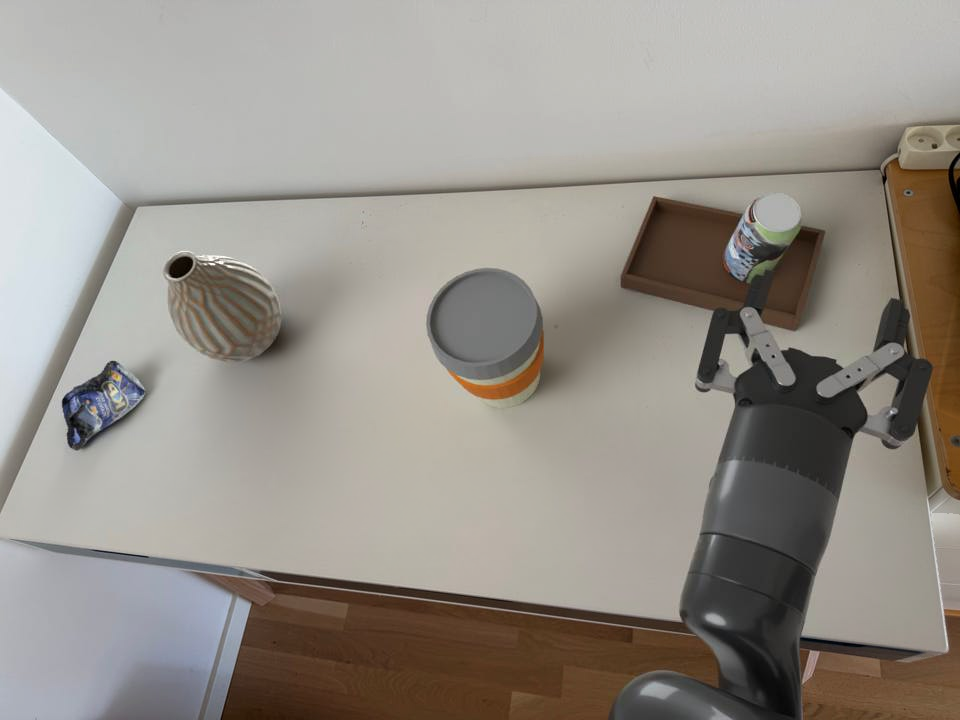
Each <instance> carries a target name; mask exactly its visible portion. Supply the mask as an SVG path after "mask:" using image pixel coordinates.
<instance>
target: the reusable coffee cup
mask: <svg viewBox="0 0 960 720" xmlns="http://www.w3.org/2000/svg"><path fill="white" fill-rule="evenodd" d="M425 326H426V332H427V337H428V339H429V342H430V345H431V348H432V351H433V353H434V356H435V357H436V358H437V360H438V361H439V363H440V364H441V365H442V367H444V368H445V369H446V371H447V372H448V374H449V375H450V376H451V377H452V378H453V379H454V380H455V381H456V382H457V383H458V384H459V385H460V386H461V387H462V388H463V389H464V390H466V391H467V392H468V393H470V394H471V395H473V396H475V397H477V398H478V399H479V400H480V401H481V402H482V403H484V404H486V405H488V406H490V407H492V408H498V409H506V408H507V409H508V408H512V407H516V406H518V405H521V404H522V403H524V402H525V401H527V400H528V399H530V397H531V396H533V394H534V392H535V391H536V390H537V389H538V386H539V384H540V379H541V370H542V367H543V365H544V358H545V333H544V332H545V331H544V318H543V314H542V310H541V307H540V304H539V303H538V301H537V299H536V296H535V294H534V293H533V291H532V288H531V287H530V286H529V284H527V282H526V281H525V280H524V279H522V278H521V277H519V276H518V275H517V274H515V273H512V272H510V271H508V270H505V269H500V268H493V267H483V268H476V269H472V270H469V271H468V270H467V271H465V272H462V273H460V274H458V275H456V276H454V277H453V278H451V279H450V280H448V281H447V282H446V283H445V284H444V285H442V287H441V288H440V289H439V290H438V291H437V292H436V293H435V295H434V296H433V297H432V300H431V302H430V304H429V307H428V310H427V313H426V322H425Z"/></svg>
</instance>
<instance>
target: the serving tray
mask: <svg viewBox="0 0 960 720" xmlns="http://www.w3.org/2000/svg"><path fill="white" fill-rule="evenodd" d="M743 214H744V213H740V212H735V211H731V210H730V211H729V210H725V209H720V208H715V207H711V206H705V205H700V204H696V203H691V202H685V201H681V200H675V199H670V198H665V197H660V196H655V195H654V196H652V199H651V201H650V203H649V206H648V208H647V211H646V213H645V215H644V218H643V220H642V223H641V225H640V227H639V230H638V233H637V235H636V237H635V239H634V241H633V244H632V248H631V250H630V252H629V254H628V257H627V259H626V262H625V265H624V266H623V269H622V272H621V274H620V288H622V289H626V290H630V291H634V292H638V293H642V294H646V295H650V296H652V297H653V296H654V297H657V298H662V299H666V300H669V301H674V302H677V303H681V304H685V305H689V306H693V307H697V308H701V309H704V310H708V311H713V312H714V310H715V309H717V308H725V309H727V310H728V311H736V310H739V309H741V308H742V307H743V305H744V302H745V299H746V296H747V293H748V290H749V287H750V284H751V283H743V282H740V281H737V280H735V279H734V278H732V277H731V276H730V275H729V274H728V273H727V272H726V271H725V269H724V267H723V263H722V256H723V253H724V251H725V249H726V247H727V245H728V243H729V241H730V239H731V237H732V236H733V234H734V232H735V230H736V228H737V226H738V224H739V222H740V220H741V218H742V216H743ZM825 236H826V230H825V229H820V228H815V227H811V226H806V225H801V228H800V230H799V232H798V234H797V235H796V237H795V238H794V240H793V241H792V243H791V244H790V245H789V247H788V248H787V250H786V251H785V253H784V254H783V256H782V257H781V258H780V260H779V261H778V263H777V264H776V266H775V267H774V269H773V270H772V271H775V273H774V277H773V280H772V283H771V286H770V289H769V293H768V296H767V299H766V302H765V305H764V308H763V311H762V314H761V317H760V318H761V320H762V322H763V324H764V325H768V326H771V327H775V328H780V329H784V330H788V331H791V332H796V330H797V328H798V326H799V323H800V321H801V318H802V316H803V315H802V314H803V311H804V308H805V304H806V301H807V297H808V295H809V291H810V287H811V284H812V279H813V277H814V273H815V270H816V266H817V262H818V260H819V257H820V256H819V255H820V252H821V249H822V245H823V241H824V239H825Z"/></svg>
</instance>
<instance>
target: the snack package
mask: <svg viewBox="0 0 960 720" xmlns="http://www.w3.org/2000/svg"><path fill="white" fill-rule="evenodd" d="M145 395H146V389H145V386H144V385H143V384H142V383H141V382H140V380H139V379H138V378H137V377H136V376H135V375H134V374H132V373H131V372H130V371H129V370H127V368H125V367H124V366H123V365H122V364H121V363H120V362H118V361H116V360H110V361H108V362H107V363H106V364H105V365H104V368H103V369H102V371H101V372H100V373H99V374H97V375H95V376H93V377H92V378H90V379H88V380H87V381H85V382H83V383H82V384H80V385H76V386H74V387H73V388H72V389H71V390H70V391H68V392H66V394H65V395H63V398H62V399H61V408H62V413H63V417H64V420H65V424H66V426H67V432H66V440H67V445H68V447H69V448H70V449H72V450H74V451H80V450H81V449H82V448H83V446H84V445H85V444H86V443H87V442H88V441H89V440H90V439H91V438H93V436H95V435H96V434H97V433H99V432H100V431H102V430H104V429H105V428H107V427H109V426H110V425H112V424H113V423H115V422H116V421H118V420H119V419H122V418H124V416H126V414H128V413H129V412H130V411H131V410H133V409H134V408H135V407H136V406H137V405H138V404H139V403H140V402H141V400H143V398H144V396H145Z"/></svg>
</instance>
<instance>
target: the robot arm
mask: <svg viewBox="0 0 960 720" xmlns="http://www.w3.org/2000/svg"><path fill="white" fill-rule="evenodd" d="M774 273H775V271H772V270H768V269H765V273H764V276H762V275H758V274H756V275H755V276H754V277H753V278H752V281H751V284H750V287H749V290H748V293H747V296H746V299H745V302H744V305H743V307H742V308H741V309H739V310H736V311H728V310H727V309H725V308H717V309H715V310H714V311H713V312H712V315H711V319H710V323H709V327H708V330H707V333H706V337H705V342H704V345H703V349H702V353H701V357H700V360H699V364H698V368H697V373H696V378H695V382H694V388H695V389H696V390H697V391H698V392H700V393H703V394H704V393H709V392H710V391H711V390H714V391H719V392H723V393H726V394H731V395H732V397H733V400H734V408H733V412H732V415H731V418H730V421H729V425H728V427H727V431H726V435H725V436H724V440H723V443H722V447H721V450H720V453H719V456H718V460H717V463H716V465H715V470H714V472H713V475H712V476H711V478H710V480H709V484H708V492H707V494H706V498H705V501H704V506H703V513H702V521H701V526H700V530H699V536H698V539H697V542H696V545H695V548H694V551H693V555H692V558H691V561H690V564H689V568H688V571H687V574H686V577H685V579H684V583H683V585H682V586H683V587H682V590H681V593H680V594H681V595H680V598H679V602H678V603H679V604H678V614H679V619H680V620H681V622H682V623H683V625H684V626H685V627H686V628H687V630H688V631H690V632H691V633H692V634H693V635H694V636H695V637H696V638H698V639H699V640H700V641H701V642H702V643H704V645H705V646H706V647H708V649H709V650H710V651H711V653H712V654H713V656H714V658H715V661H716V669H717V683H718V684H717V685H718V686H715V685H712V684H710V683H707V682H705V681H703V680H700V679H698V678H695V677H692V676H689V675H687V674H685V673H681V672H678V671H676V670H675V671H674V670H670V669H669V670H668V669H667V670H666V669H658V670H657V669H656V670H650V671H647V672H644V673H642V674H640V675H638V676H635V677H634V678H633V679H631V680H630V681H629V682H627V684H625V685H624V686H623V688H621V690H620V691H619V692H618V694H617V695H616V696H615V698H614V700H613V702H612V704H611V707H610V709H609V712H608V717H607V720H804V715H803V713H804V712H803V679H802V678H803V677H802V666H801V664H802V663H801V637H802V634H803V629H804V626H805V623H806V618H807V614H808V611H809V607H810V601H811V599H812V593H813V589H814V585H815V582H816V581H815V580H816V576H817V573H818V570H819V567H820V565H821V562H822V560H823V557H824V555H825V552H826V550H827V548H828V545H829V542H830V539H831V535H832V531H833V526H834V523H835V518H836V514H837V509H838V506H839V501H840V497H841V493H842V488H843V485H844V479H845V475H846V472H847V467H848V463H849V458H850V455H851V450H852V446H853V442H854V438H855V436H856V434H857V433H863V434H865V435H869V436H872V437H873V438H874V437H875V438H878V439H880V441H881V444H882V446H883V447H885V448H886V449H888V450H897V449H899V448H901V446H903V444H905V443H906V442H907V441H909V439H910V438H911V437H913V435H915V432H916V429H917V426H918V423H919V418H920V415H921V411H922V408H923V404H924V401H925V397H926V394H927V390H928V387H929V383H930V380H931V377H932V373H933V369H934V366H933V363H931V361H930V360H928V359H927V358H923V357H922V358H921V357H920V358H915V357H914V356H912V355H911V354H909V353H908V352H907V351H906V349H905V342H906V337H907V333H908V328H909V324H910V319H911V314H910V309H908V308H904V307H903V304H904V300H903V299H899V298H895V297H891V298H890V299H889V300H888V302H887V304H886V305H885V307H884V308H883V310H882V312H881V316H880V321H879V325H878V329H877V333H876V338H875V341H874V346H873V349H872V353H870V354H869V355H863V356H862V357H860V358H859V359H857V360H856V361H854V362H852V363H850V364H849V365H846V367H843V366H842V365H840V364H839V363H837V359H835V358H831V357H827V356H823V355H822V356H820V355H811V354H809V353H807V352H805V351H803V350H801V349H797V348H793V347H790V346H789V347H788V348H787V349H782V350H781V349H780V347H779V345H778V343H777V342H776V339H775V337H774V335H773V334H772V332H771V331H770V330H767V328H766V326H765V324H764V323H763V322H762V320H761V318H760V317H761V314H762V311H763V308H764V305H765V302H766V299H767V296H768V293H769V289H770V286H771V283H772V280H773V277H774ZM726 335H737V337H738V339H739V341H740V343H741V345H742V347H743V350H744V353H745V358H746V361H747V362H748V365H749V368H748V369H746V370H745V371H743V372H742V373H740V374H738V375H737V376H735V375H734V376H733V374H731V372H730V365H729V363H728V361H726V360H725V359H723V358H720V357H721V353H722V349H723V346H724V341H725V337H726ZM886 375H889V376H891V377H892V378H895V379H896V380H898V381H897V385H896V388H895V392H894V395H893V398H892V401H891V404H890V406H889V405H888V406H887V405H886V406H884V407H882V408H881V409H880V410H879V412H877V414H875V415H870V414H868V413H869V412H868V410H867V407H866V406H865V404H864V402H863V400H862V398H861V396H860V395H859V393H860V392H862V391H863V390H864V389H865V388H866V387H868V386H870V385H871V384H872V383H874V382H875V381H877V380H878V379H880V378H883V376H886Z"/></svg>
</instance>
